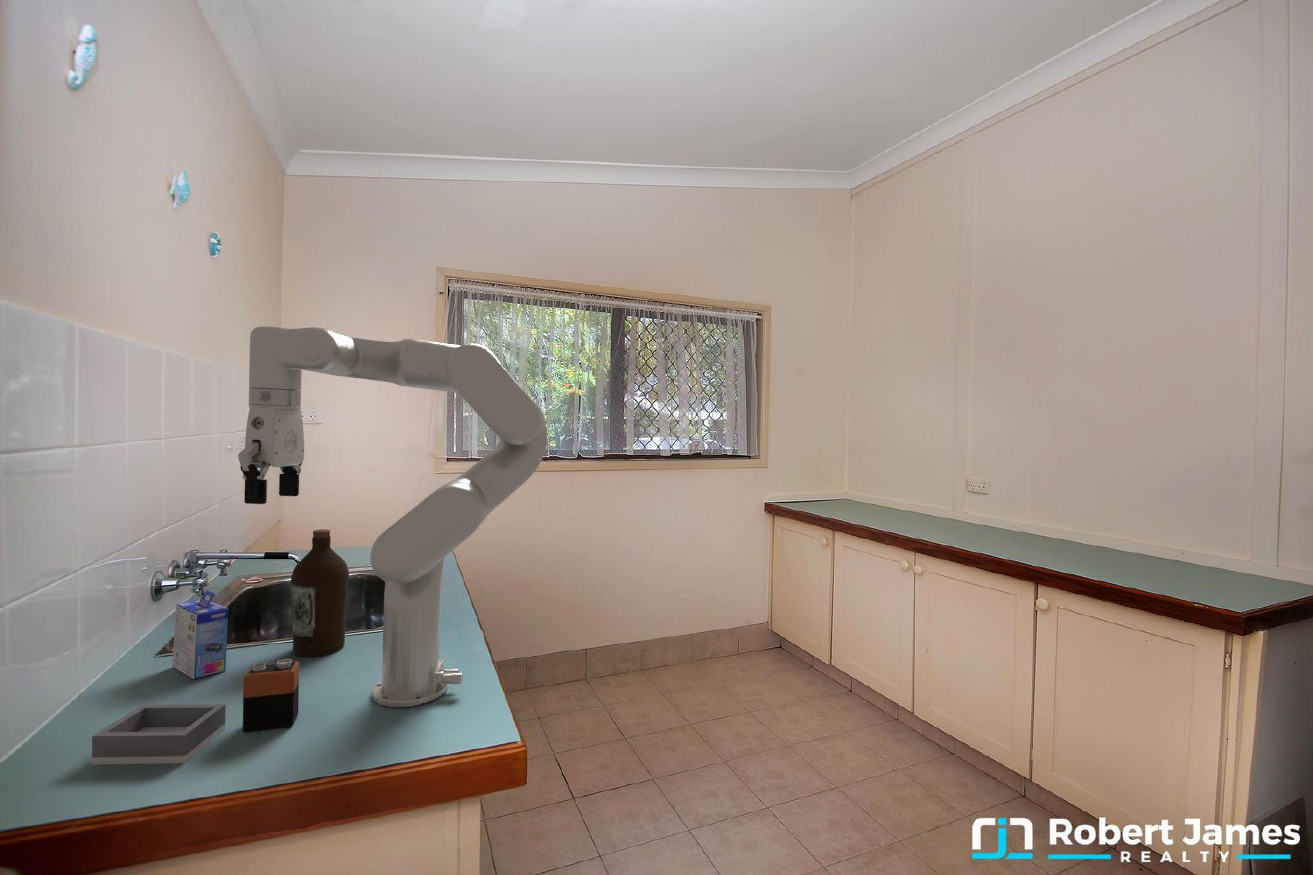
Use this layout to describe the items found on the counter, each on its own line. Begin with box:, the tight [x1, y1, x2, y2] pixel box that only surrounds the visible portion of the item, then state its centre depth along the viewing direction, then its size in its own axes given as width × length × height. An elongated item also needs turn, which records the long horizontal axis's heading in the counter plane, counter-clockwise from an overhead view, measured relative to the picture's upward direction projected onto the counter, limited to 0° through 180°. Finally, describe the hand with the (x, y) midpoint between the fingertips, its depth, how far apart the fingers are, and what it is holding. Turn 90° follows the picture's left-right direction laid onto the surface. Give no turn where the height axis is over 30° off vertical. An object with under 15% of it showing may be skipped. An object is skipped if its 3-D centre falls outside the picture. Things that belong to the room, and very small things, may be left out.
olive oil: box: [290, 528, 350, 658], centre depth 124 cm, size 11×11×25 cm
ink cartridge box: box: [172, 590, 229, 680], centre depth 112 cm, size 10×6×14 cm, turn 58°
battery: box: [242, 658, 300, 734], centre depth 94 cm, size 4×7×10 cm, turn 110°
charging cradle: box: [91, 703, 227, 766], centre depth 87 cm, size 12×9×4 cm
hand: (272, 499), depth 102 cm, fingers open, 9 cm apart
